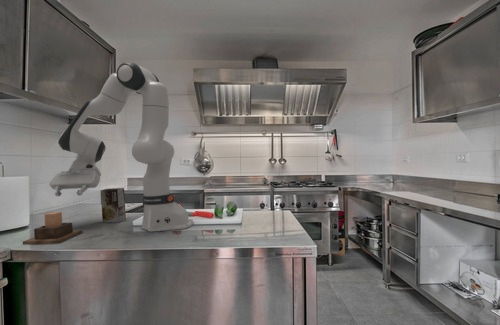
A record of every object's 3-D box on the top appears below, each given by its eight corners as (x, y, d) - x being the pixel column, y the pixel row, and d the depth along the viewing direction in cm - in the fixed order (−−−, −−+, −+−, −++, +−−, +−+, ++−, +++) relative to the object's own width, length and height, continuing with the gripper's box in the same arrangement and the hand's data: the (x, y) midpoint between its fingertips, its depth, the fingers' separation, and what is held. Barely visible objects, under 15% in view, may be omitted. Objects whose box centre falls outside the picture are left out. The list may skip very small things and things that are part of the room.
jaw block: (62, 233, 113) (61, 211, 113) (55, 236, 109) (54, 214, 109) (53, 234, 113) (51, 212, 113) (45, 237, 109) (44, 214, 109)
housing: (82, 232, 118) (81, 220, 118) (59, 243, 104) (58, 229, 104) (50, 234, 119) (49, 222, 118) (22, 244, 105) (21, 231, 104)
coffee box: (126, 219, 142) (124, 187, 142) (119, 222, 136) (117, 189, 135) (109, 219, 143) (107, 188, 142) (101, 222, 137) (99, 189, 136)
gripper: (54, 167, 128) (39, 191, 118) (99, 165, 127) (87, 189, 118) (61, 176, 132) (48, 200, 123) (104, 174, 132) (94, 198, 122)
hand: (68, 195), depth 120 cm, fingers open, 8 cm apart
